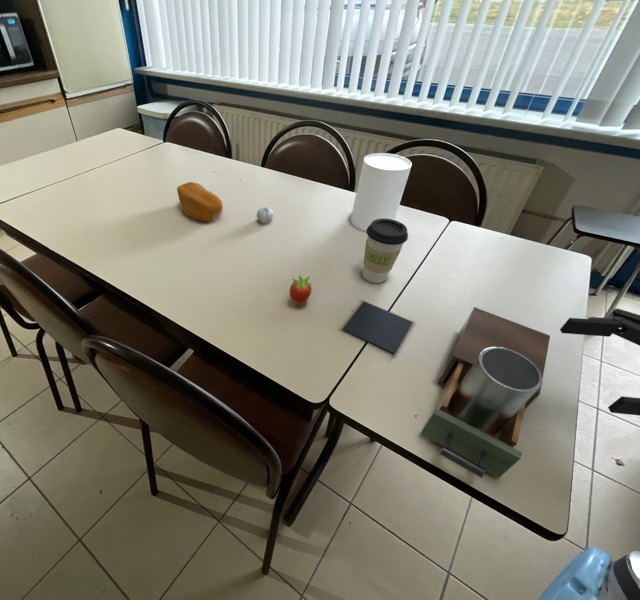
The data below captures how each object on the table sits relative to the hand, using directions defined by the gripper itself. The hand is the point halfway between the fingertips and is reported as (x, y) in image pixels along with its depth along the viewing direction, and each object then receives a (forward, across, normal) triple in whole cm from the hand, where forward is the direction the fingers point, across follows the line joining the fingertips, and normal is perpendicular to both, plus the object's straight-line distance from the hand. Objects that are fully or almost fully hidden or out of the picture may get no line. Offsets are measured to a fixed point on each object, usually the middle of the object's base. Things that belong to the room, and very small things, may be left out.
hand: (588, 361), depth 51 cm
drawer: (+10, -2, -19) cm, 21 cm away
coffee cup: (+21, +42, -22) cm, 52 cm away
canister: (+18, +72, -23) cm, 78 cm away
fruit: (+40, +28, -20) cm, 53 cm away
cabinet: (+2, +12, -21) cm, 24 cm away
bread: (+75, +71, -21) cm, 105 cm away
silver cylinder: (+9, 0, -18) cm, 20 cm away
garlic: (+53, +67, -21) cm, 88 cm away
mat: (+22, +22, -20) cm, 37 cm away
